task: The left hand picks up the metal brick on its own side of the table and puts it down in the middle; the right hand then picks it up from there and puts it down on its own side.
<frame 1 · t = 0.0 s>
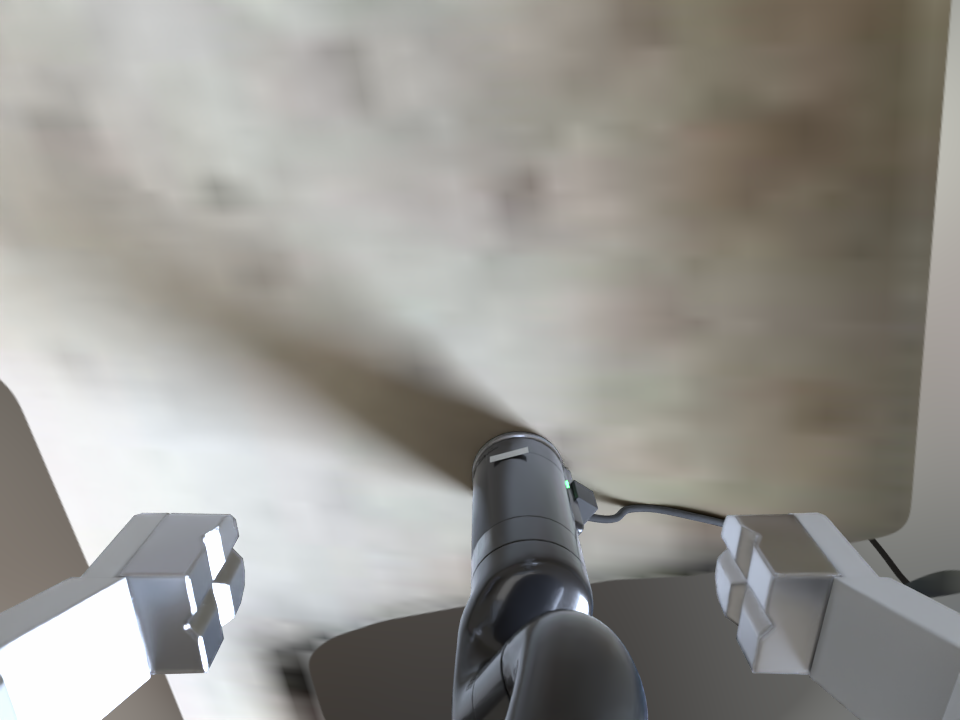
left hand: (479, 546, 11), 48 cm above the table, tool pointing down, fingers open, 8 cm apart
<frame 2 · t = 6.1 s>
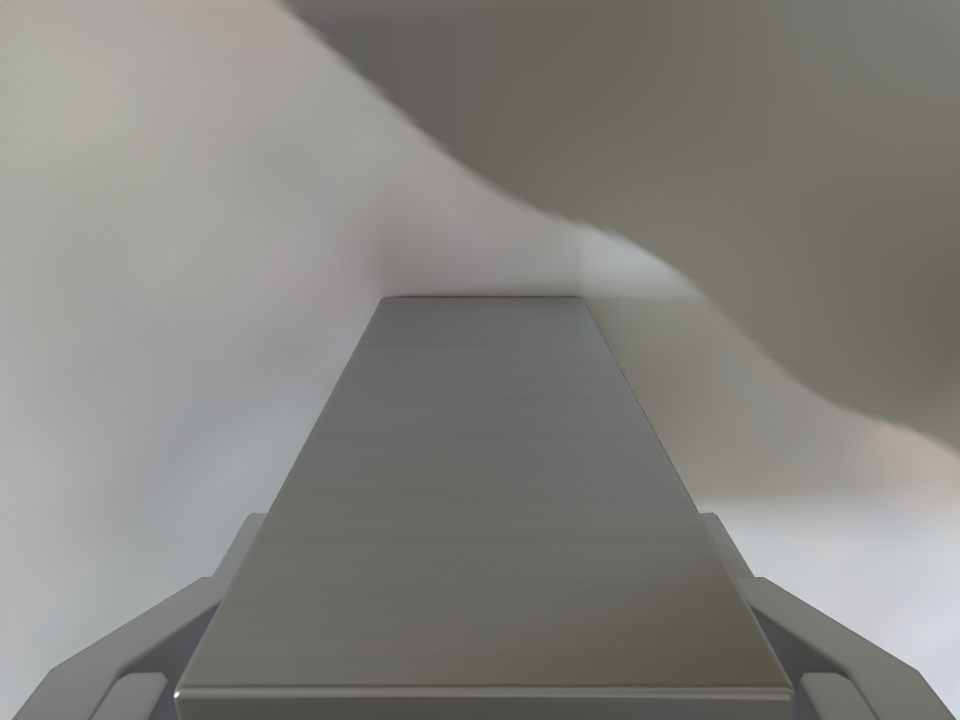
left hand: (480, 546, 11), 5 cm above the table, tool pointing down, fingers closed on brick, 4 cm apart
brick: (482, 409, 15), on the table, touching left hand
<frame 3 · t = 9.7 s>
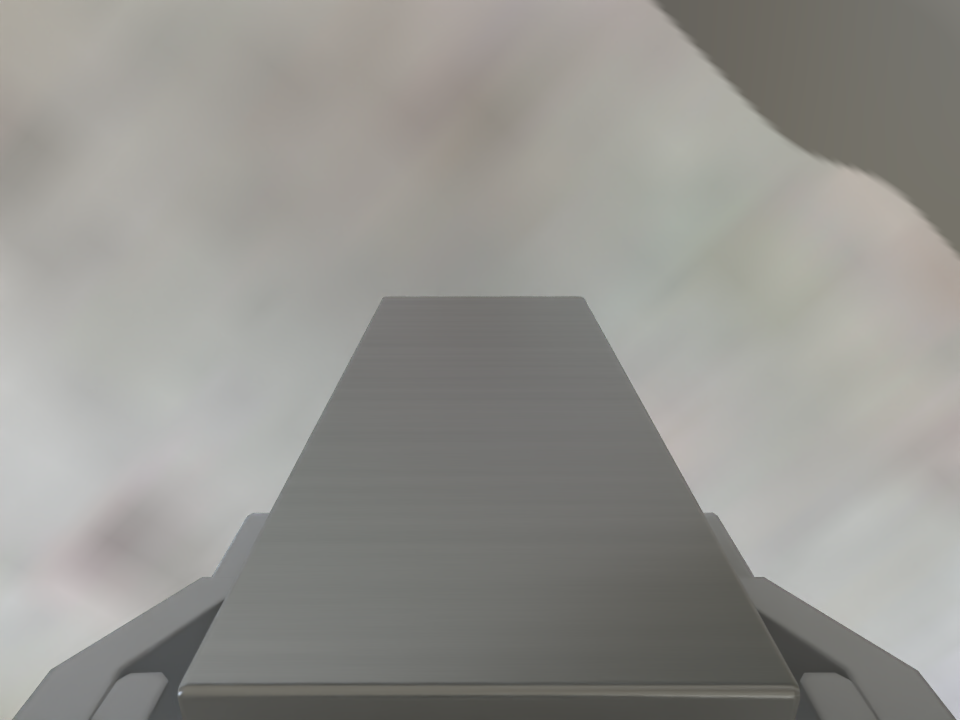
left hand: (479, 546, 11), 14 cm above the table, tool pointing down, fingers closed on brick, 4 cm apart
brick: (483, 408, 15), point 9 cm above the table, touching left hand
when the left hand's fingers open (6 cm above the table, at t = 13.3 s): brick drops 1 cm, on the table.
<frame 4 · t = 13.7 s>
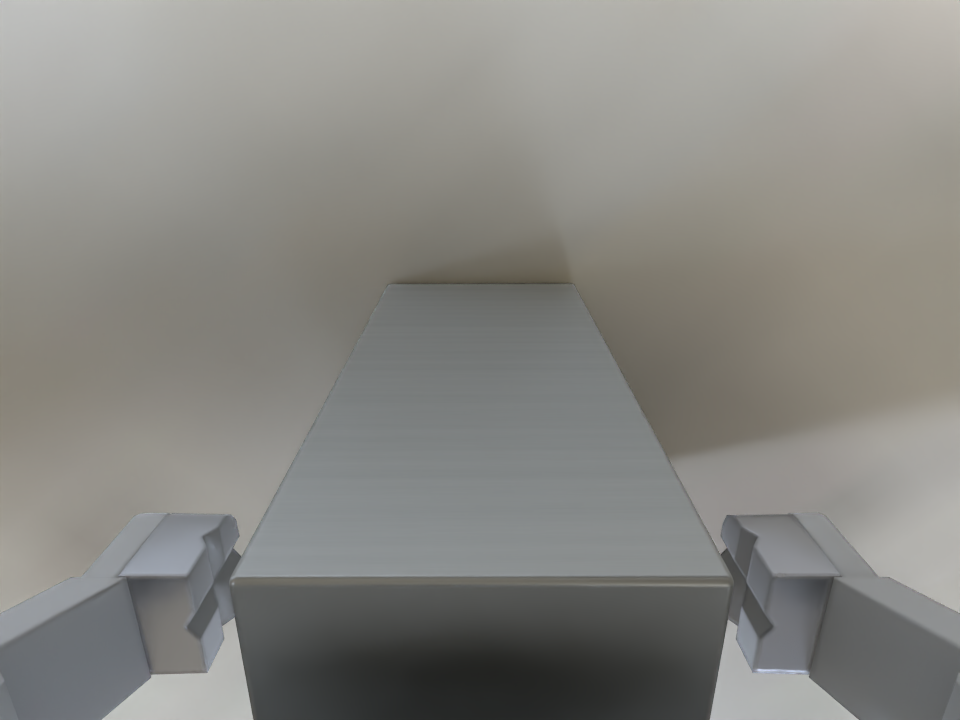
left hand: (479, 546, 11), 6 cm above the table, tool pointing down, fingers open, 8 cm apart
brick: (481, 388, 17), on the table
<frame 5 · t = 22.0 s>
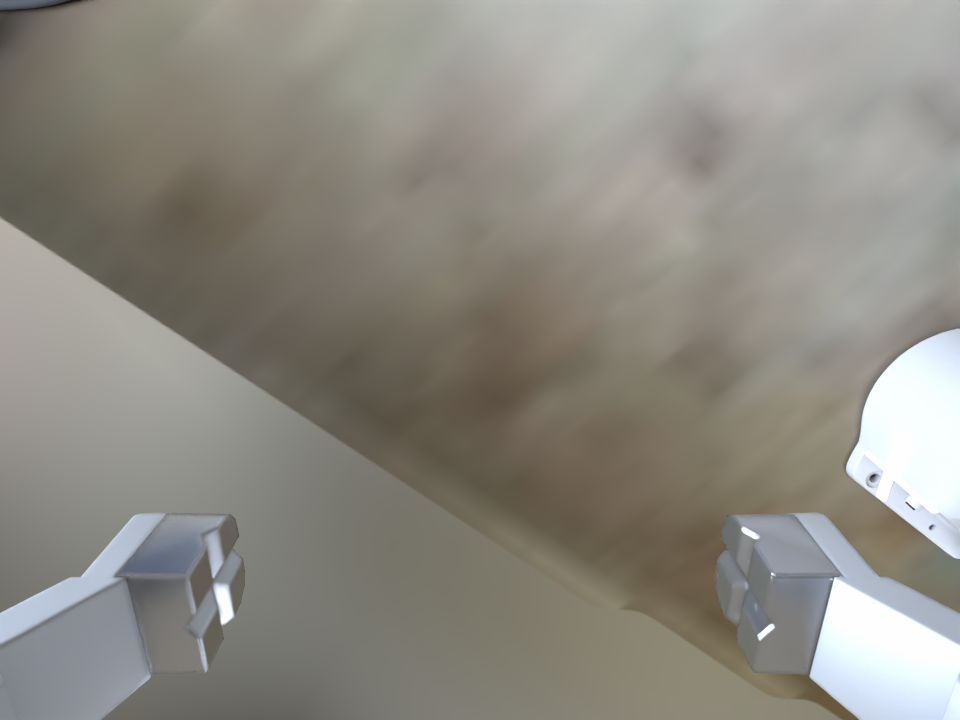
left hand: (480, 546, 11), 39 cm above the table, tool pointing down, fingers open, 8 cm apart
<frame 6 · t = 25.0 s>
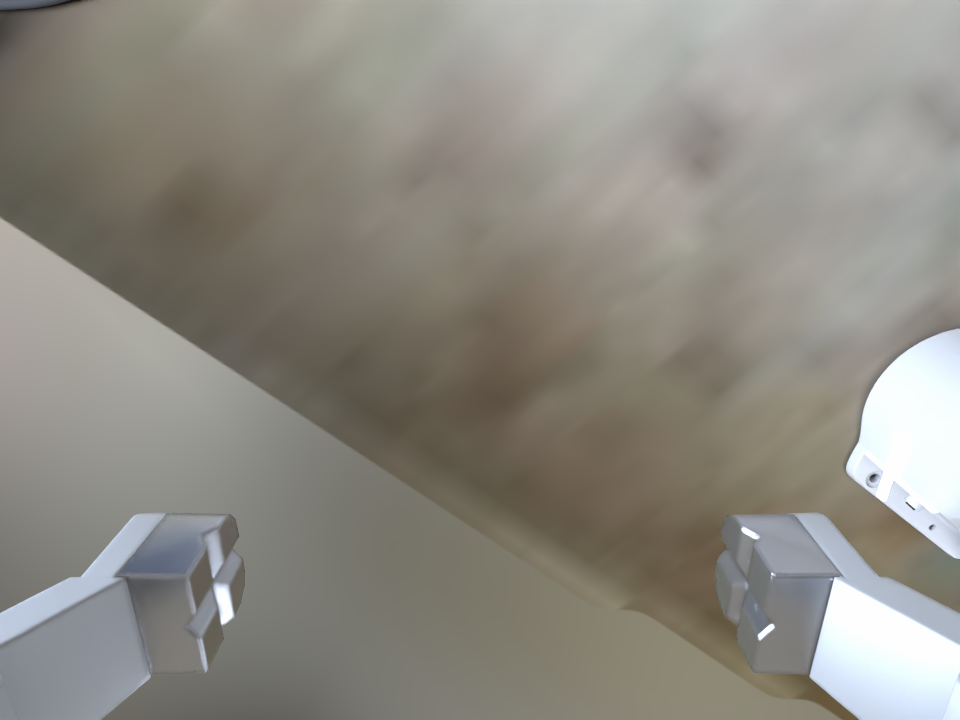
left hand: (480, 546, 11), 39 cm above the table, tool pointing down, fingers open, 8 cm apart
when the right hand's fingers open (7 cm above the table, at t = 27.9 s): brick drops 1 cm, on the table.
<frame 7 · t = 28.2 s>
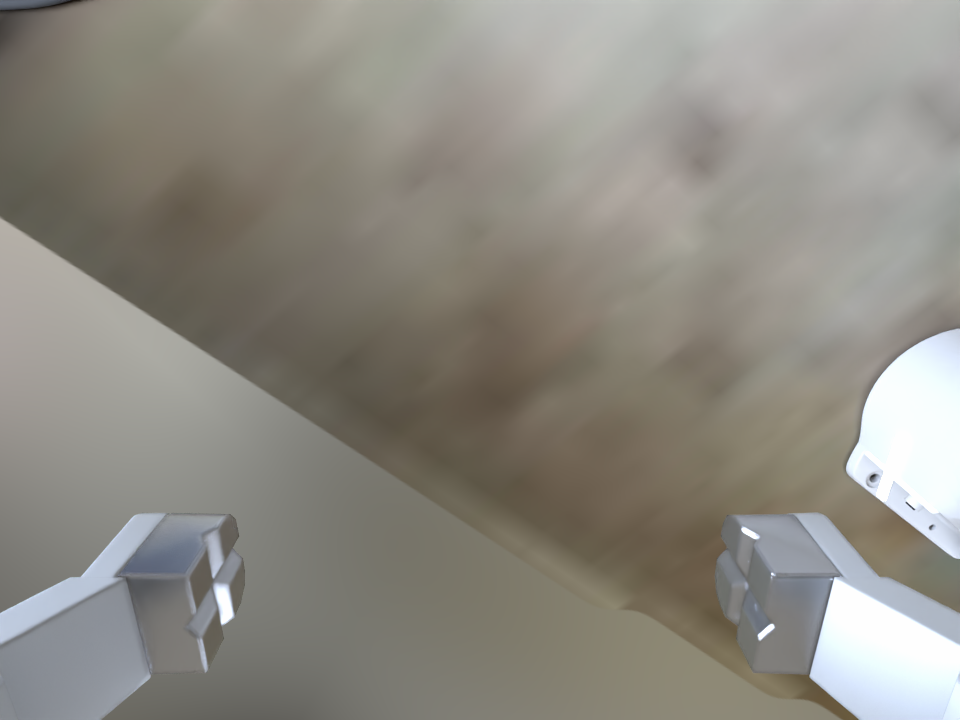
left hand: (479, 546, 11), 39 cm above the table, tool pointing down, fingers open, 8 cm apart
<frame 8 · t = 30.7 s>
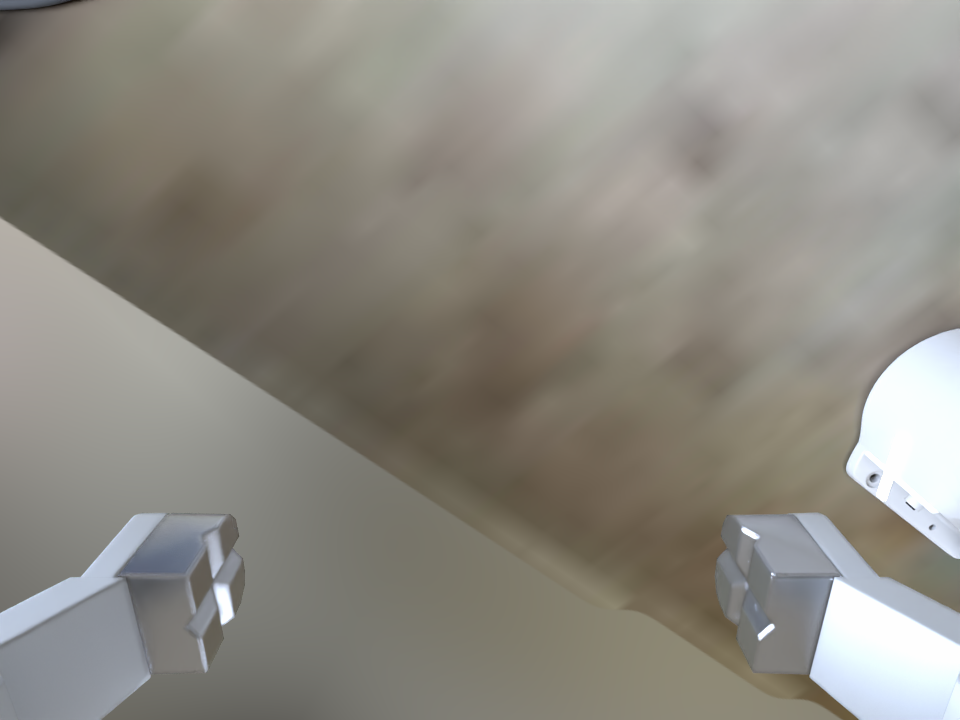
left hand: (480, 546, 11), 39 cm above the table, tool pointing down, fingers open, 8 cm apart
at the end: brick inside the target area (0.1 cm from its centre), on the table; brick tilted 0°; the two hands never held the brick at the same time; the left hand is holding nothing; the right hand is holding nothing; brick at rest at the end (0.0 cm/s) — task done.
